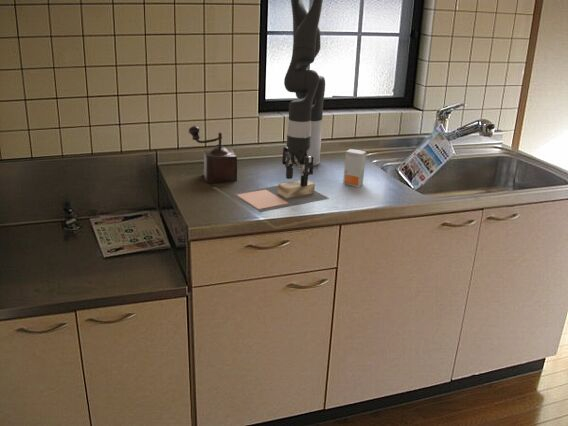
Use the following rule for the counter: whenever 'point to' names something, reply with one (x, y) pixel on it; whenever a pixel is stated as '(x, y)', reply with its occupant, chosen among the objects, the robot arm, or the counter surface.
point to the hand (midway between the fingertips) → (296, 182)
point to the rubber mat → (275, 198)
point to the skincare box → (354, 167)
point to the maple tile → (295, 189)
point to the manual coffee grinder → (217, 160)
